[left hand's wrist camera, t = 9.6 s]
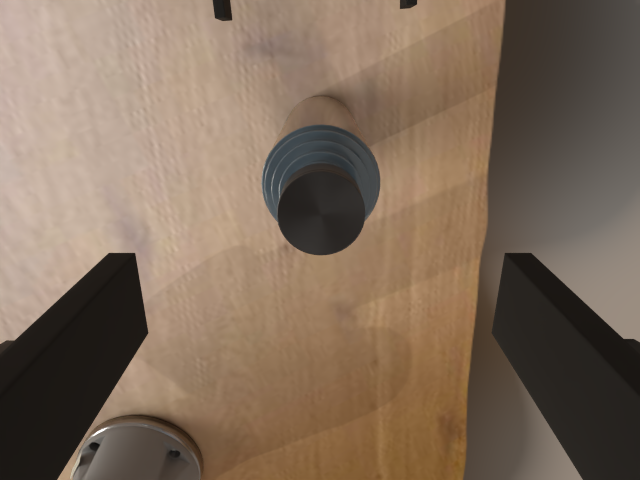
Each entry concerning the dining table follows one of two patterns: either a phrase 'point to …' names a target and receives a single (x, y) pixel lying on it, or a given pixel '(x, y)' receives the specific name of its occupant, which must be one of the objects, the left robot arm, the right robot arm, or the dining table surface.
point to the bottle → (320, 150)
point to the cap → (321, 209)
